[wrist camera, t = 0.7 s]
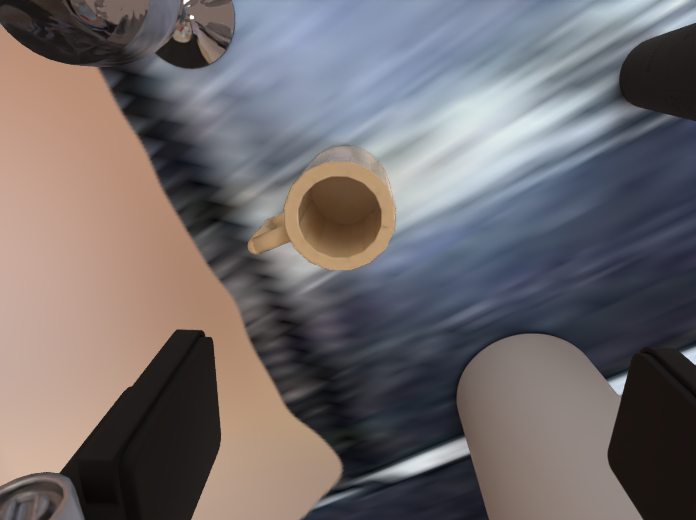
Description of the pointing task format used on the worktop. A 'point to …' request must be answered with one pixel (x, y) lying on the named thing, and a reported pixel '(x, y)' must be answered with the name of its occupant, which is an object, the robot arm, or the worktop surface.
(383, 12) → the worktop surface
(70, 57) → the wine glass
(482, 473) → the taupe cylinder
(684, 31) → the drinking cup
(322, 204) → the wooden mug
